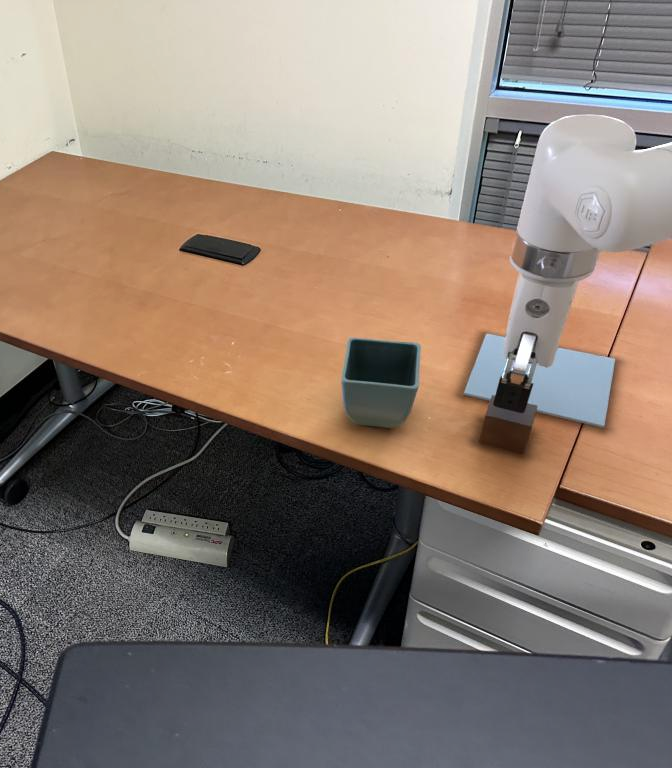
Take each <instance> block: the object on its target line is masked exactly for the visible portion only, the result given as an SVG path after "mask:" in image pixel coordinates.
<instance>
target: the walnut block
mask: <svg viewBox="0 0 672 768" xmlns="http://www.w3.org/2000/svg"><path fill="white" fill-rule="evenodd" d="M494 398H495V395H492V397H491V400H490V401H489V402H488V406H487V409H486V411H485V415H484V419H483V423H482V427H481V431H480V435H479V439H478V442H479V443H480V444H485V445H489V446H493V447H495V448H500V449H503V450H508V451H511V452H515V453H518V454H522V455H523V454H525V453H526V452H525V451H526V448H527V445H528V442H529V438H530V435H531V432H532V429H533V425H534V422H535V417H536V414H537V412H536V410H537V407H538V405H534V404H530V403H527V406H526V409H525V412H524V413H518V412H514V411H510V410H506V409H502V408H498V407H495V406H494V405H493V402H494Z"/></svg>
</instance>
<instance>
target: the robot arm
mask: <svg viewBox="0 0 672 768" xmlns="http://www.w3.org/2000/svg"><path fill="white" fill-rule="evenodd" d="M636 146H637V136H636V133H635V131H634V129H633V128H632V127H631V125H629V124H627V122H625V121H623V120H620V119H618V118H614V117H611V116H606V115H599V114H575V115H574V114H573V115H569V116H568V115H567V116H563V117H561V118H559V119H556V120H554V121H552V122H551V123H550V124H548V125H547V126H546V127H544V129H543V131H542V132H541V134H540V136H539V139H538V141H537V145H536V149H535V153H534V156H533V160H532V165H531V169H530V173H529V177H528V181H527V185H526V190H525V193H524V198H523V202H522V206H521V211H520V214H519V220H518V221H517V227H516V230H515V233H514V239H513V243H512V246H511V251H510V256H509V263H510V265H511V266H512V268H513V269H514V270H515V271H516V272H518V277H517V280H516V284H515V288H514V293H513V297H512V301H511V304H510V305H511V306H510V311H509V315H508V320H507V324H506V325H507V326H506V330H505V336H504V337H505V342H504V347H503V355H504V357H505V358H506V359H507V358H508V360H507V364H506V367H505V371H504V374H503V376H500V380H499V383H498V387H497V391H496V395H495V398H494V402H493V405H494V406H495V407H498V408H502V409H506V410H510V411H514V412H518V413H524V412H525V409H526V406H527V403H528V400H529V397H530V393H531V390H532V387H533V384H534V383H531V382H532V378H533V375H534V371H535V368H536V365H537V363H538V365H539V366H544V367H546V368H547V367H550V366H551V365H552V364H553V362H554V358H555V355H556V352H557V349H558V348H559V346H560V343H561V339H562V336H563V333H564V330H565V327H566V324H567V321H568V318H569V315H570V312H571V310H572V309H571V308H572V306H573V303H574V299H575V296H576V293H577V289H578V285H579V281H583V280H585V279H588V278H589V277H590V276H591V275H592V274H593V273H594V271H595V269H596V265H597V263H598V260H599V257H600V255H601V252H602V251H603V252H606V253H623V252H629V251H633V250H637V249H641V248H644V247H648V246H652V245H654V244H658V243H661V242H666V241H668V240H671V239H672V142H669V143H665V144H661V145H657V146H654V147H650V148H646V149H637V150H636ZM513 360H514V361H515V363H514V366H513V370H512V371H510V370H511V366H512V363H513ZM528 364H531V366H530V369H529V372H528V376H527V374H525V373H526V370H527V366H528Z"/></svg>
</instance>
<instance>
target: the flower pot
mask: <svg viewBox="0 0 672 768" xmlns="http://www.w3.org/2000/svg"><path fill="white" fill-rule="evenodd" d="M421 351H422V344H420V343H417V342H412V341H411V342H410V341H399V340H386V339H385V340H383V339H374V338H373V339H372V338H364V337H363V338H362V337H349V338H348V339H347V343H346V350H345V356H344V362H343V367H342V372H341V378H340V381H341V394H342V395H341V396H342V404H343V408H344V411H345V413H346V415H347V417H348V418H349V420H351V422H352V423H353V424H355V425H359V426H367V427H376V428H385V429H395V428H397V427H399V426H401V425H402V424H403V423H404V422H406V421H407V419H408V417H409V416H410V414H411V412H412V409H413V405H414V403H415V400H416V397H417V394H418V390H419V387H420V370H421V369H420V368H421Z"/></svg>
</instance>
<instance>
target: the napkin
mask: <svg viewBox="0 0 672 768" xmlns="http://www.w3.org/2000/svg"><path fill="white" fill-rule="evenodd" d="M504 342H505V336H502V335H498V334H491V333H485V335H484V338H483V341H482V343H481V346H480V349H479V351H478V354H477V356H476V360H475V362H474V365H473V367H472V370H471V372H470V374H469V378H468V381H467V384H466V387H465V389H464V391H463V396H468V397H471V398H475V399H479V400H484V401H488V402H490V400H491V397H492V395H496V391H497V387H498V383H499V380H500V376H503V374H504V371H505V367H506V364H507V360H508V358H507V359H506V358H505V357H504V355H503V347H504ZM514 363H515V361H514V360H513V363H512V366H511V370H510V371H512V370H513V366H514ZM615 364H616V358H614V357H608V356H603V355H598V354H593V353H587V352H584V351H579V350H573V349H568V348H562V347H558V349H557V352H556V355H555V358H554V362H553V364H552V365H551V366H550V367H547V368H546V367H544V366H539V365H538V363H537V365H536V368H535V371H534V375H533V378H532V382H531V383H534V384H533V387H532V390H531V393H530V397H529V400H528V403H530V404H534V405H538V407H537V410H536V413H539V414H543V415H546V416H552V417H555V418H560V419H564V420H568V421H573V422H576V423H581V424H583V425H584V424H585V425H588V426H593V427H597V428H601V429H605V425H606V421H607V413H608V407H609V403H610V402H609V400H610V395H611V389H612V381H613V376H614V370H615ZM530 366H531V364H528V366H527V370H526V373H525V374H527V376H528V372H529V369H530Z"/></svg>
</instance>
